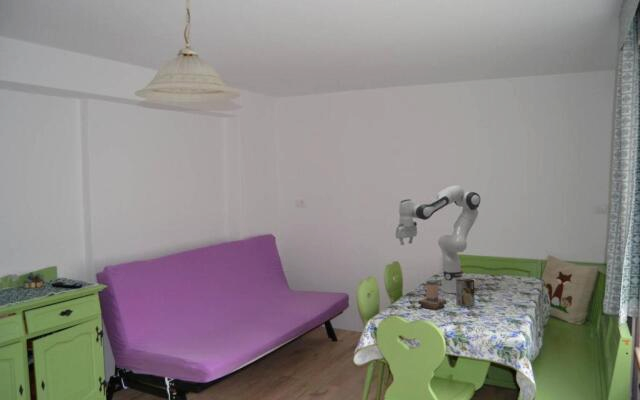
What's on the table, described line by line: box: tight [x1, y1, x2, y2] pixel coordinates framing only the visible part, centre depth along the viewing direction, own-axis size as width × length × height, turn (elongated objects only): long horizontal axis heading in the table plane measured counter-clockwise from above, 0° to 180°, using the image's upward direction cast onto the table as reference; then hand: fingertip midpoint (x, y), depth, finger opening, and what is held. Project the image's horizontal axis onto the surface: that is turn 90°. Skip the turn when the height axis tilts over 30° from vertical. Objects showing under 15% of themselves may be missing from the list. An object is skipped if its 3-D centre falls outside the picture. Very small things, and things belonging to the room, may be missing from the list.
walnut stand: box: [418, 298, 447, 311], centre depth 307 cm, size 12×12×4 cm
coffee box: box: [455, 277, 476, 308], centre depth 310 cm, size 9×6×16 cm
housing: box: [425, 279, 439, 302], centre depth 307 cm, size 5×5×12 cm
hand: (406, 244), depth 337 cm, fingers open, 8 cm apart
